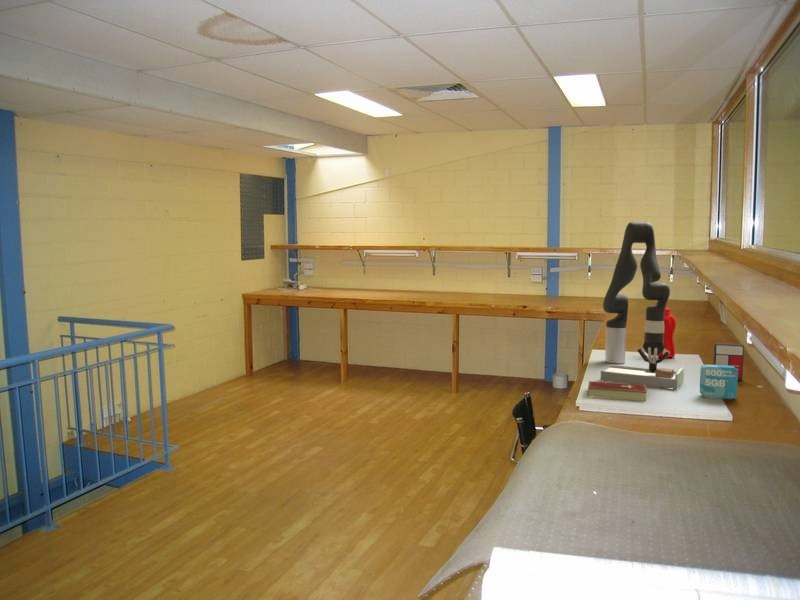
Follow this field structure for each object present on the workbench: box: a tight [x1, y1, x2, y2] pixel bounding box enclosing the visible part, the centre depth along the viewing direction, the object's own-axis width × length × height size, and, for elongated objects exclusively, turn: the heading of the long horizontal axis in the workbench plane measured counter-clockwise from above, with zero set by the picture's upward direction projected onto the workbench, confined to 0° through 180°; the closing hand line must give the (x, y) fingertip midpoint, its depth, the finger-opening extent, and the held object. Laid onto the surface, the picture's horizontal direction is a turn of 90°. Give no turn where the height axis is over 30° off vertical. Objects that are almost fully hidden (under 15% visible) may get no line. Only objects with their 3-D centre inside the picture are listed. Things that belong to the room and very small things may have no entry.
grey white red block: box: [712, 342, 745, 381], centre depth 267 cm, size 11×4×15 cm, turn 70°
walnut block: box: [655, 367, 675, 378], centre depth 257 cm, size 6×6×3 cm
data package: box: [699, 364, 739, 400], centre depth 235 cm, size 12×4×12 cm, turn 76°
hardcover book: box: [587, 380, 648, 402], centre depth 239 cm, size 12×21×4 cm, turn 72°
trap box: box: [600, 364, 685, 390], centre depth 263 cm, size 17×30×6 cm, turn 57°
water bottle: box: [658, 307, 677, 359], centre depth 318 cm, size 9×11×25 cm
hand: (652, 372), depth 260 cm, fingers closed
